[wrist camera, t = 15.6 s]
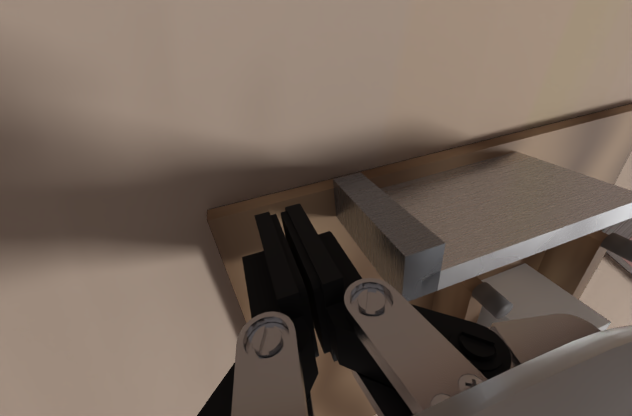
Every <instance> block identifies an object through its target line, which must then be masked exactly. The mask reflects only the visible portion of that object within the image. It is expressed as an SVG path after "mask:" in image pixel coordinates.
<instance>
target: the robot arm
mask: <svg viewBox="0 0 632 416" xmlns="http://www.w3.org/2000/svg"><path fill="white" fill-rule="evenodd" d="M254 216H255V220H256V224H257V227H258V231H259V235H260V238H261V242H262V246H263V249H264V251H261V252H258V253H254V254H251V255H247V256H244V257H242V261H243V268H244V274H245V280H246V286H247V293H248V299H249V305H250V312H251V318H252V319H250V320H249V321H248V322H247V323H246V324H245V325H244V326H243V328H242V330H241V331H240V333H239V335H238V339H237V344H236V357H235V363H234V364H233V366H232V367H231V369H230V370H229V371H228V373H227V374H226V376H225V377H224V378H223V380H222V381H221V383H220V384H219V385H218V387H217V388H216V390H215V391H214V392H213V394H212V395H211V397H210V398H209V400H208V401H207V402H206V404H205V405H204V407H203V408H202V409H201V411H200V412H199V414H198V415H197V416H315V414H314V408H313V401H312V394H311V389H312V387H313V384H314V382H315V380H316V378H317V376H318V374H319V372H318V367H317V362H316V358H315V357H318V356H319V351H318V346H317V341H316V336H315V331H316V334H317V337H318V339H319V342H320V345H321V347H322V350H323V352H324V354H326V353H328V352H330V353H331V356H332V358H333V361H334V362H335V361H338V362H339V365H341V366H344V367H346V368H349V369H351V372H352V374H353V376H354V378H355V380H356V381H357V383H358V384H359V386H360V388H361V389H362V391H363V392H364V394H365V396H366V397H367V399H368V401H369V402H370V404H371V405H372V407H373V409H374V410H375V412H376V414H377V415H378V416H632V326H624V327H617V328H612V329H608V330H604V331H601V330H599V329H598V328H597V327H595V326H594V325H593V324H592V323H590V322H588V321H586V320H584V319H582V318H580V317H577V316H574V315H570V314H550V315H543V316H536V317H529V318H522V319H515V320H508V321H501V322H494V323H492V325H491V327H485V326H482V325H480V324H478V323H474V322H471V321H468V320H464V319H461V318H457V317H454V316H450V315H447V314H443V313H440V312H436V311H433V310H430V309H426V308H423V307H419V306H416V305H412V304H410V303H409V302H408V301H407V300H406V299H405V298H404V297H403V296H402V295H401V294H400V293H399V292H398V291H397V290H396V289H395V288H394V287H392V286H391V285H390V284H388V283H387V282H385V281H383V280H380V279H375V278H363V279H362V277H361V276H360V274H359V273H358V271H357V270H356V268H355V267H354V265H353V264H352V262H351V261H350V259H349V258H348V256H347V255H346V253H345V252H344V250H343V249H342V247H341V246H340V244H339V243H338V241H337V239H336V238H335V236H334V235H333V234H332V232H330V231H328V232H325V233H321V234H317V232H316V230H315V228H314V227H313V225H312V223H311V221H310V220H309V218H308V216H307V215H306V213H305V211H304V209H303V208H302V206H301V204H300V203H299V204H295V205H291V206H288V207H285V211H284V212H281V219H282V223H283V228H284V232H285V234H284V232H283V230H282V227H281V225H280V222H279V220H278V217H277V215H276V214H273V215H270V212H265V213H262V214H258V215H254ZM314 329H315V330H314Z"/></svg>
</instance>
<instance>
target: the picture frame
mask: <svg viewBox="0 0 632 416" xmlns="http://www.w3.org/2000/svg"><path fill="white" fill-rule="evenodd" d="M602 232H604V233H606V234H608V235H609V234H611V233H616V234H618V235H621V236H623V237H625V238H627V239H629V240H632V218H630V219H627V220H625V221H622V222H619V223H617V224H614V225H611V226H609V227H606V228H605V229H604V230H603V231H602ZM606 252H607V253H608V254H609V255H610V256H611V257H612V258H614V259H615V260H616V261H617V262H618V263H619V264H621V265H622V266H623V267H624V268H625V269H626V270H627V271H629V272H630V273H631V274H632V262H630V261H628V260H626V259H624V258H622V257H620V256H618V255H616V254H615V253H613V252H611V251H609V250H607V251H606Z"/></svg>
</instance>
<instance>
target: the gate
mask: <svg viewBox="0 0 632 416" xmlns="http://www.w3.org/2000/svg"><path fill="white" fill-rule="evenodd" d="M333 187H334V198H335V210H336V217H337V218H338V220H339V221H340V222H341V224H342V225H343V226H344V228H345V229H346V230H347V232H348V233H349V234H350V236H351V237H352V238H353V240H354V241H355V242H356V244H357V245H358V246H359V248H360V249H361V251H362V252H363V253H364V255H365V256H366V257H367V259H368V260H369V261H370V263H371V264H372V265H373V267H374V268H375V269H376V271H377V272H378V273H379V275H380V276H381V277H382V279H383V280H384V281H385V282H387V283H388V284H390V285H391V286H392V287H394V288H395V289H396V290H397V291H398V292H399V293H400V294H401V295H402V296H403V297H404V298H405V299H406V300H407V301H411V300H414V299H416V298H419V297H422V296H424V295H427V294H430V293H432V292H435V291H438V290H440V289H443V288H446V287H448V286H451V285H454V284H456V283H459V282H462V281H465V280H467V279H470V278H473V277H475V276H478V275H481V274H483V273H486V272H489V271H491V270H494V269H497V268H499V267H502V266H505V265H507V264H510V263H513V262H515V261H518V260H521V259H523V258H526V257H529V256H531V255H534V254H537V253H539V252H542V251H545V250H547V249H550V248H553V247H555V246H558V245H561V244H563V243H566V242H569V241H571V240H574V239H577V238H579V237H582V236H585V235H587V234H590V233H593V232H595V231H598V230H601V229H603V228H606V227H609V226H611V225H614V224H617V223H619V222H622V221H625V220H627V219H630V218H632V191H630V190H627V189H625V188H622V187H619V186H616V185H613V184H610V183H607V182H604V181H601V180H598V179H595V178H592V177H590V176H587V175H584V174H581V173H578V172H575V171H572V170H569V169H566V168H563V167H560V166H557V165H555V164H552V163H549V162H546V161H543V160H540V159H537V158H534V157H531V156H528V155H525V154H522V153H520V152H513V153H510V154H506V155H502V156H499V157H495V158H491V159H487V160H484V161H480V162H476V163H473V164H469V165H465V166H461V167H458V168H454V169H450V170H447V171H443V172H439V173H435V174H432V175H428V176H424V177H421V178H417V179H413V180H409V181H406V182H402V183H398V184H395V185H391V186H387V187H383V188H379V187H377V186H376V185H375V184H374V183H373V182H371V181H370V180H369V179H368V178H367V177H365V176H364V175H363V174H362V173H361V172H359V173H355V174H351V175H347V176H343V177H339V178H335V179H333Z"/></svg>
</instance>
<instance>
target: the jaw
mask: <svg viewBox="0 0 632 416" xmlns="http://www.w3.org/2000/svg"><path fill="white" fill-rule="evenodd" d="M481 281H482V282H487V283H488V284H489V285H491V286H492V287H493V288H494V289H495V290H497V291H498V292H499V293H500V294H501V295H502V296H504V297H505V298H506V299H507V300H508V301H510V302H511V303H512V304H513V308H512V309H511V311H510V312H509V313H508V314H507V315H506V316H504V317H502V318H500V319H496V318H495V317H494V316H493V315H492V314H491V313H490V312H489V311H488V310H486V309H485V308H484V307H483V306H482V308H481V311H480V314H479V318H478V321H477V323H478V324H480V325H482V326H485V327H491V325H492V323H494V322H501V321H508V320H515V319H522V318H529V317H536V316H543V315H550V314H570V315H574V316H577V317H580V318H582V319H584V320H586V321H588V322H590V323H592V324H593V325H594V326H595V327H597V328H598V329H599V330H601V331H604V330H606V329H607V327H608V326H609V325H610V323H611V322H610V321H609V320H607V319H606V318H604V317H603V316H602V315H600V314H599V313H597V312H596V311H594V310H593V309H591V308H590V307H588V306H587V305H586V304H584V303H583V302H581V301H580V300H578V299H577V298H575V297H574V296H572V295H571V294H569V293H568V292H567V291H565V290H564V289H562V288H561V287H559V286H558V285H556V284H555V283H553V282H552V281H551V280H549V279H548V278H546V277H545V276H543V275H542V274H540V273H539V272H537V271H536V270H534V269H533V268H532V267H530V266H529V265H527V264H526V263H524V264H522V265H519V266H517V267H514V268H511V269H509V270H506V271H504V272H501V273H499V274H496V275H494V276H491V277H488V278H486V279H483V280H481Z"/></svg>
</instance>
